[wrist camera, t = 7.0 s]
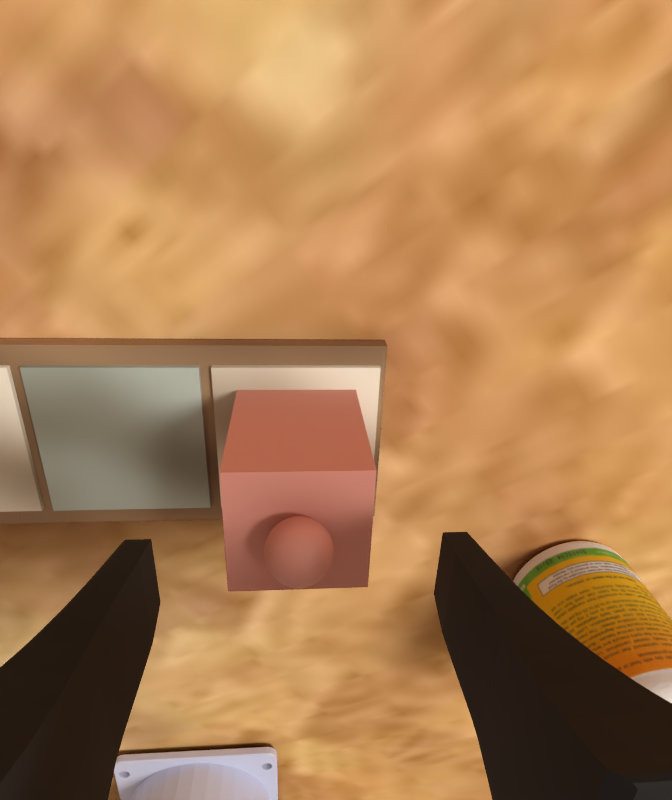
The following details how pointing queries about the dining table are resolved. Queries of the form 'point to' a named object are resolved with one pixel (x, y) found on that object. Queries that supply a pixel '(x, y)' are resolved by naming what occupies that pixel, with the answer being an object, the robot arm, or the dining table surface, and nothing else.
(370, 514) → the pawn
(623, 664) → the supplement bottle
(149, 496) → the track
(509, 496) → the dining table surface
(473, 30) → the dining table surface
